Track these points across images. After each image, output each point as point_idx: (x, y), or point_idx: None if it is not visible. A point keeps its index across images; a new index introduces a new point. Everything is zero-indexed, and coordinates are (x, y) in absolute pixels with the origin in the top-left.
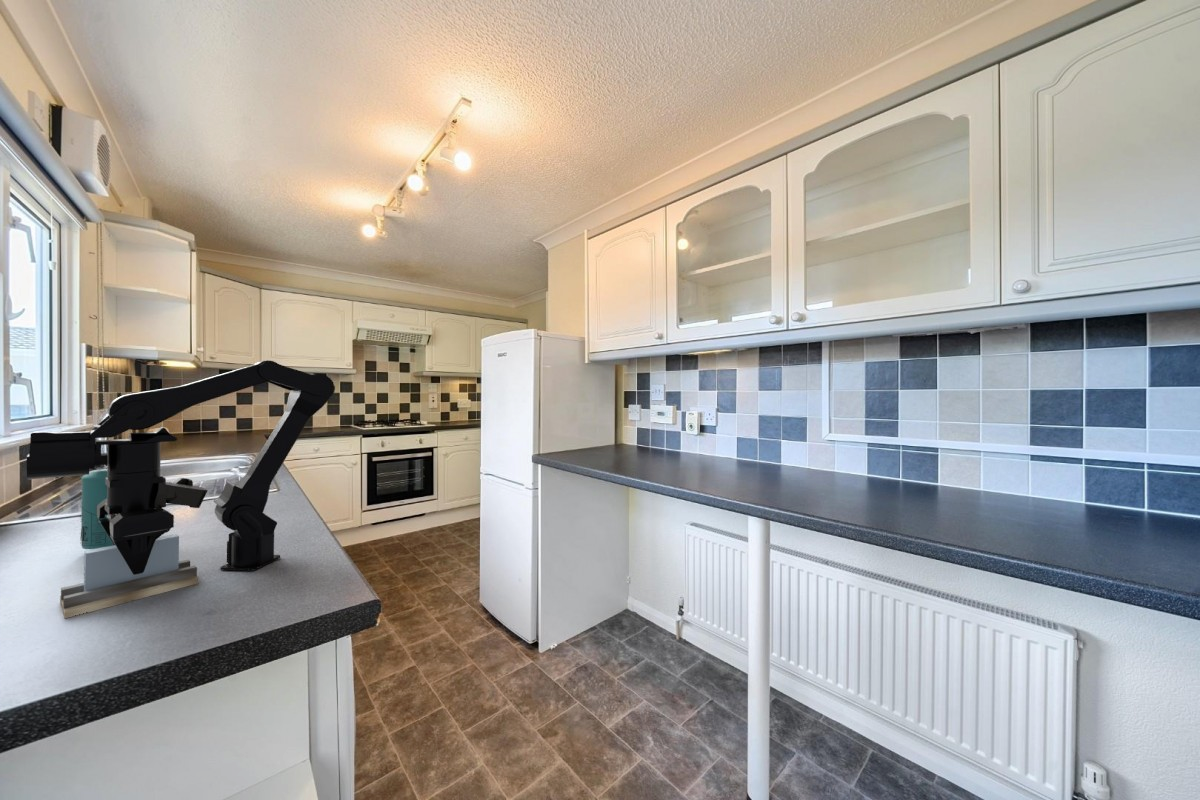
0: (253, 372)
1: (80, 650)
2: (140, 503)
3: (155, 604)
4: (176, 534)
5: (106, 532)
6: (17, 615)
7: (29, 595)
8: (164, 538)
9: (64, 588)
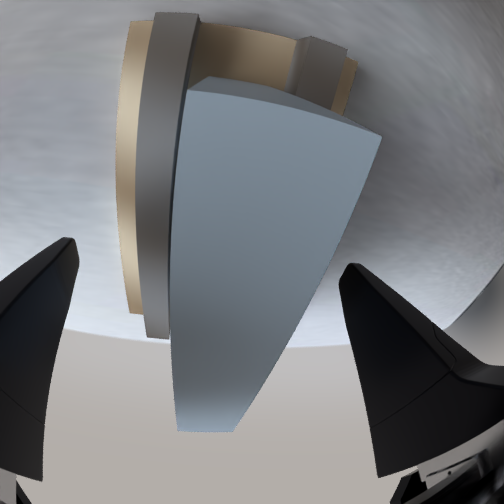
0: None
1: (419, 303)
2: None
3: (384, 199)
4: (236, 102)
5: (43, 428)
6: None
7: None
8: (305, 255)
9: (158, 335)
